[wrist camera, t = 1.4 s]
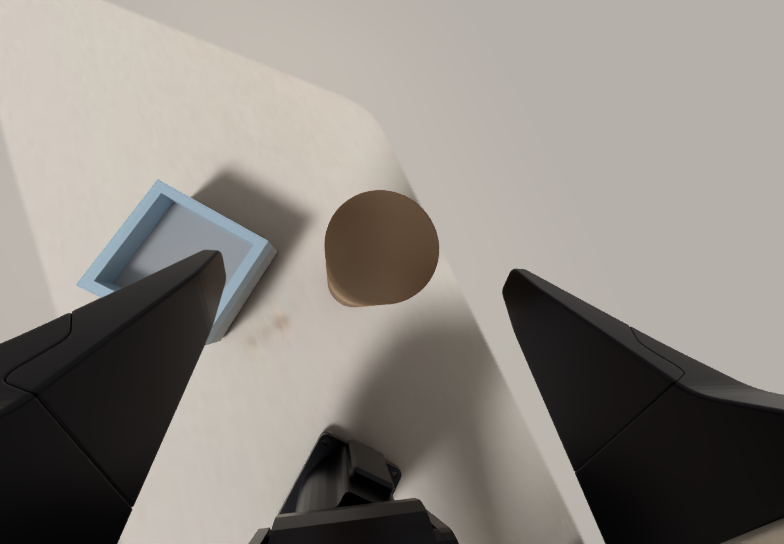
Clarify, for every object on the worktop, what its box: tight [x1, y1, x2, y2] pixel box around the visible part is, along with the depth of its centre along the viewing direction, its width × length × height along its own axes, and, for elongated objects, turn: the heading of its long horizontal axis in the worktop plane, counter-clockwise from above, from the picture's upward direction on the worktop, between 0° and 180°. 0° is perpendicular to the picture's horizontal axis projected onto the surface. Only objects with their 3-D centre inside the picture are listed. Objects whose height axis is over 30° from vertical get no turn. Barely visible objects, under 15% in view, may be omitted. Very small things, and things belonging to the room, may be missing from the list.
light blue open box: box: [76, 180, 278, 345], centre depth 19 cm, size 7×7×4 cm
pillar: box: [325, 190, 439, 307], centre depth 17 cm, size 4×4×13 cm
